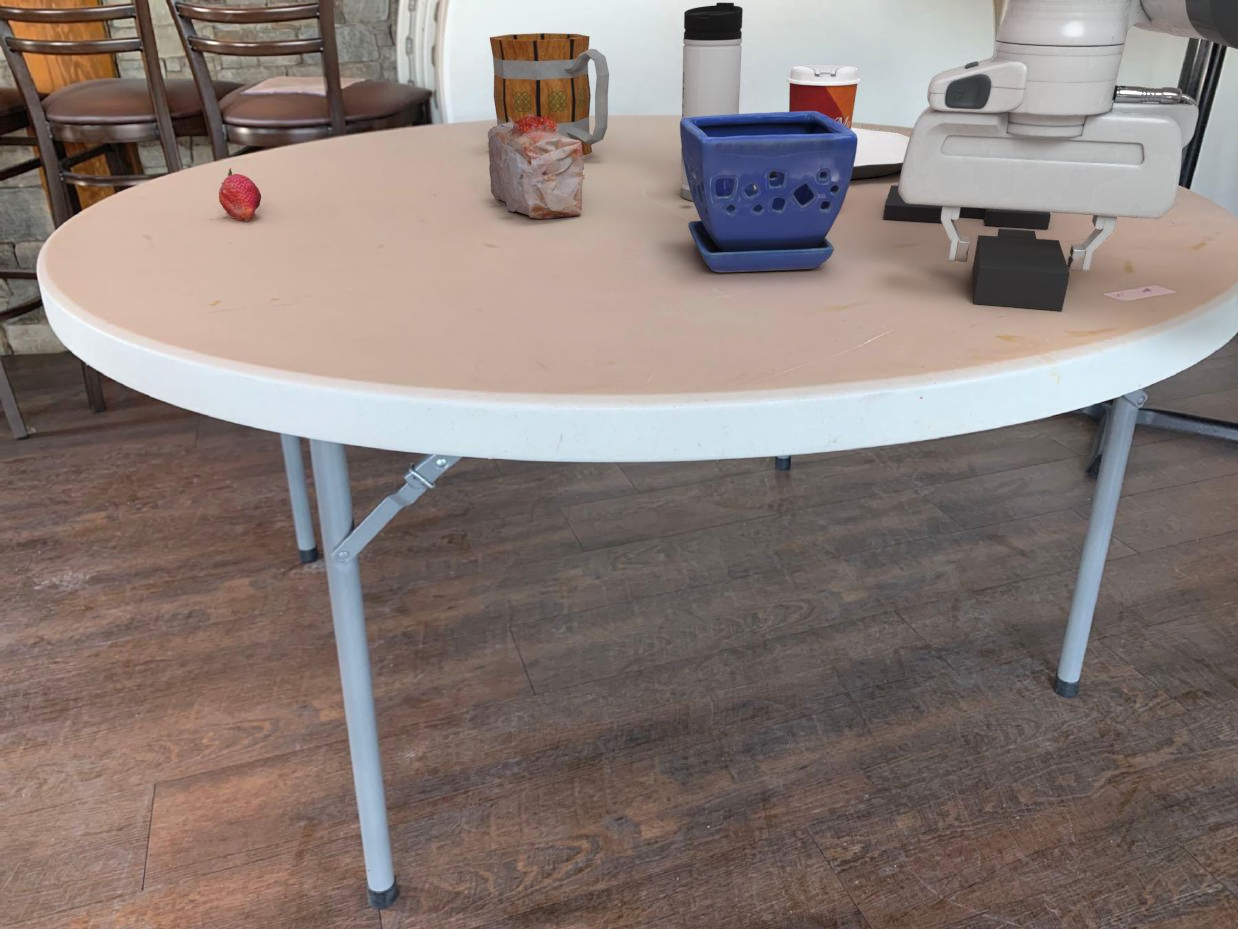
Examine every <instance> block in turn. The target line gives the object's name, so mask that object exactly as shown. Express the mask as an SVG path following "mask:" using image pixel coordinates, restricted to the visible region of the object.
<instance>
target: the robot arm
mask: <svg viewBox="0 0 1238 929" xmlns="http://www.w3.org/2000/svg"><path fill="white" fill-rule="evenodd" d="M1132 27H1135V28H1138V29H1141V30H1144V31H1148V32H1155V33H1161V34H1162V33H1163V34H1167V35H1171V36H1174V37H1180V38H1188V39H1196V40H1205V41H1209V42H1212V43H1215V44H1219V45H1221V46H1225V47H1227V48H1228V47H1229V48H1231V49H1234V50H1238V0H1007V4H1006V10H1005V13H1004V16H1003V19H1002V21H1001V23H1000V26H999V27H998V30H997V32H996V33H997V34H996V38H995V44H994V49H993V55H991V57H989V58H985V59H981V60H976V61H971V62H969V63H966V64H964V65H960V66H957V67H956V66H955V67H953V68H950V69H946V70H943V71H940V72H938V73H936V74H935V75H933V77H932V78H931V79H930V81H929V83H928V86H927V93H926V96H927V97H926V99H927V103H928V105H929V106H927V107H926V108H925V109H924V110H923V111H922V112H921V113H920V114H919V115H918V117H917V119H916V121H915V123H914V125H913V128H912V130H911V132H910V136H909V138H910V139H909V142H908V145H907V149H906V153H905V156H904V161H903V165H902V170H900V175H899V180H898V185H897V186H898V193H899V194H900V196H901V197H902V199H903V200H904V202H905V203H908V204H921V205H937V206H942V212H941V221H942V223H941V224H942V226H943V228H944V230H945V233H946V235H947V237H948V239H949V241H950V244H949V249H948V250H949V251H948V257H947V258H948V260H947V261H948V262H959V263H967V262H968V257H969V250H970V245H971V237H970V236H964V235H960V233H959V232H960V231H959V229H958V227H957V225H956V222H955V221H958V220H959V218H960V217H959V214H960V208H961V207H969V208H985V209H1002V210H1018V211H1034V212H1050V214H1071V215H1084V216H1092V219H1091V223H1092V224H1093V227H1094V230H1093V231H1092V232H1091V233H1090V234H1089V236H1088V237H1087V238H1085V240H1084V242H1083V243H1082V244H1081V243H1071V245H1070V249H1069V254H1070V256H1068V258H1067V262H1066V264H1067V267H1068V270H1069V271H1076V272H1087V273H1088V272H1089V270H1090V268H1091V262H1092V259H1093V254H1094V252H1096V251H1097V249H1099V247H1100V246H1101V245H1102V244H1103V243H1104V242H1105V241H1106V240H1107V239H1108V237H1109V236H1111V234H1112V233H1114V231H1115V227H1116V223H1117V219H1118V218H1133V219H1146V220H1147V219H1149V220H1158V219H1161V218H1163V216H1165V215H1167V213H1169V212H1170V211H1171V210H1172V209H1173V208H1174V206H1175V203H1176V199H1177V194H1178V188H1179V183H1180V176H1181V169H1182V160H1183V159H1182V158H1183V157H1182V156H1183V150H1184V149H1185V148H1186V147H1187V146H1188V145H1189V144H1190V143H1191V141H1192V140H1193V137H1194V135H1195V132H1196V129H1197V124H1198V120H1199V116H1200V110H1199V106H1198V103H1197V102H1196V101H1195V99H1194V98H1193V97H1192V96H1190V95H1188V94H1186V93H1183V90H1182V88H1179V87H1172V86H1171V87H1170V86H1166V87H1161V88H1160V87H1159V88H1158V87H1157V88H1154V87H1146V86H1139V85H1134V86H1133V85H1117V81H1118V78H1119V72H1120V68H1121V64H1122V59H1123V54H1124V50H1125V45H1126V41H1127V36H1128V33H1129V30H1130V29H1131V28H1132ZM1181 100H1182V101H1184V102H1185V103H1180V102H1181Z"/></svg>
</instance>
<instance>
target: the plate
mask: <svg viewBox="0 0 1238 929" xmlns="http://www.w3.org/2000/svg"><path fill="white" fill-rule="evenodd" d="M851 130H852V131H853V132H854V133H855V134H856V135H857V138H858V143H857V150H856V156H855V162H854V166H853V171H852V175H851V179H850V180H858V179H867V178H875V177H882V176H888V175H891V174H895V173H897V172H899V171H900V172H901V170H902V165H903V161H904V156H905V153H906V149H907V145H908V142H909V139H910V136H907V135H904V134H902V133H897V132H893V131H883V130H871V129H864V128H858V127H851ZM775 176H776V174H775V171H772V172H771V174H770V178H774V177H775Z"/></svg>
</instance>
